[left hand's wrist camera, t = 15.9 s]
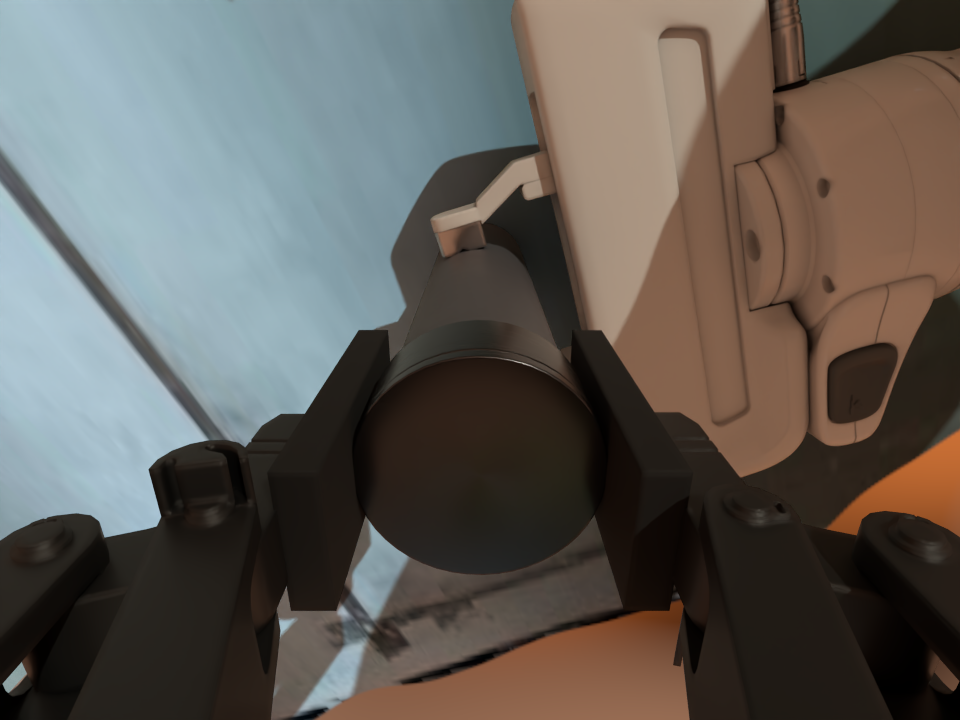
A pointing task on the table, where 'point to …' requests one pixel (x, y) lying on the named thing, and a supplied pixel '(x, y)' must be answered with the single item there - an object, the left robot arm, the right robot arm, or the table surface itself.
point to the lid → (479, 450)
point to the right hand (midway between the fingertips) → (458, 307)
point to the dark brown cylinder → (481, 289)
